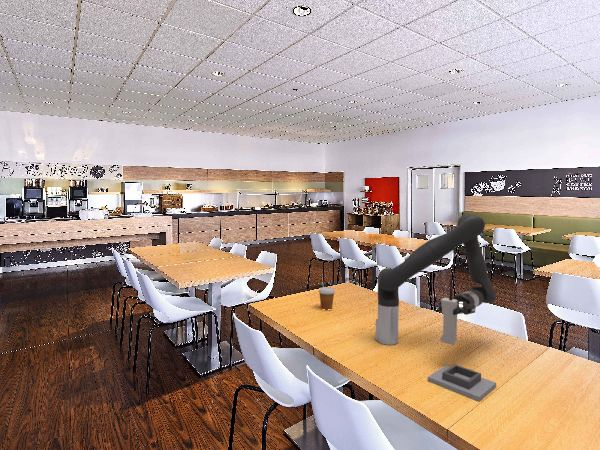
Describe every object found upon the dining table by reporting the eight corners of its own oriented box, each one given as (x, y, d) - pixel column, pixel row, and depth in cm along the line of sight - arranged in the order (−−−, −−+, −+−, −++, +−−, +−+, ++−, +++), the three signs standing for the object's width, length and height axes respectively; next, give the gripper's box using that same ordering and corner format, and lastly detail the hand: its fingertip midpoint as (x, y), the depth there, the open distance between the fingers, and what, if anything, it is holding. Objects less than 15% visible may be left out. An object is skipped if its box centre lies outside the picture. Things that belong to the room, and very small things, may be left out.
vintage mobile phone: (443, 338, 147) (444, 276, 145) (456, 341, 144) (457, 278, 142) (440, 341, 144) (441, 278, 142) (453, 345, 141) (455, 280, 139)
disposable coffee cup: (317, 311, 214) (317, 290, 213) (319, 306, 223) (319, 286, 222) (334, 312, 212) (334, 291, 211) (335, 307, 221) (335, 287, 220)
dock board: (427, 380, 133) (427, 370, 133) (446, 368, 143) (446, 358, 142) (479, 401, 120) (479, 389, 120) (496, 386, 129) (496, 375, 129)
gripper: (449, 289, 158) (429, 297, 146) (484, 296, 147) (465, 305, 136) (448, 307, 158) (428, 315, 147) (483, 315, 148) (465, 325, 136)
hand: (446, 310), depth 141 cm, fingers closed on vintage mobile phone, 5 cm apart
